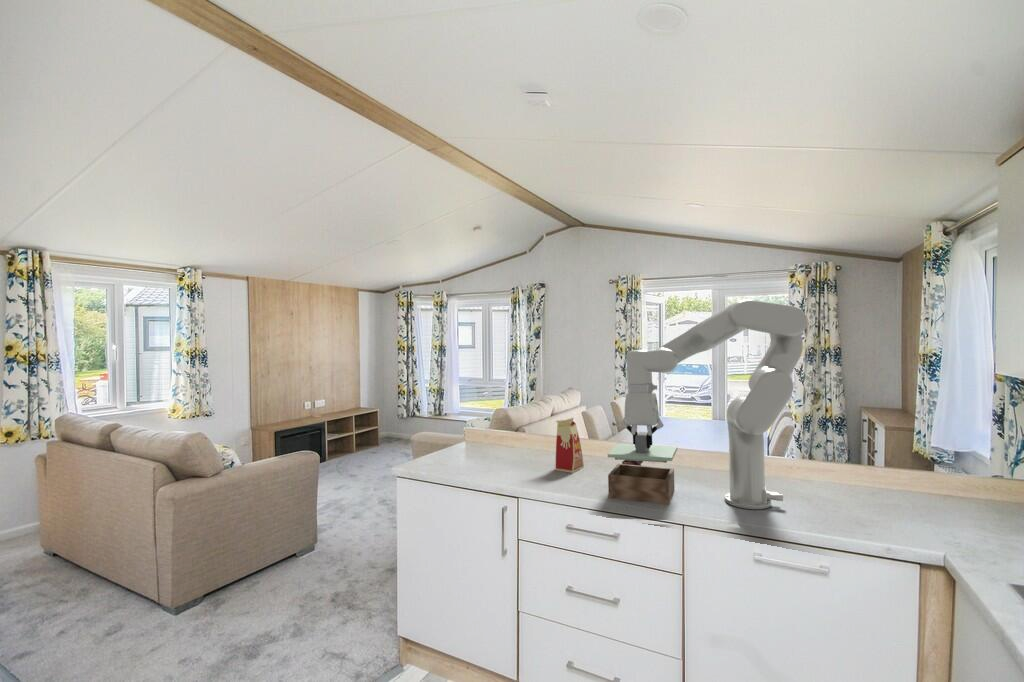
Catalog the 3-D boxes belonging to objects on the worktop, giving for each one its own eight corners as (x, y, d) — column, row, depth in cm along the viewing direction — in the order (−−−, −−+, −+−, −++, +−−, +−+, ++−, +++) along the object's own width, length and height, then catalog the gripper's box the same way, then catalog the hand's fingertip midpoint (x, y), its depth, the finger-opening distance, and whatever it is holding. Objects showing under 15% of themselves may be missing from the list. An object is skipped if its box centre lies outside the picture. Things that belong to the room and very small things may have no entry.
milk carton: (583, 467, 187) (582, 416, 187) (573, 473, 179) (572, 420, 179) (562, 464, 192) (561, 414, 192) (552, 470, 184) (550, 418, 184)
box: (674, 493, 154) (674, 468, 154) (669, 508, 141) (668, 481, 141) (618, 487, 161) (618, 463, 161) (608, 500, 148) (608, 474, 148)
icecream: (633, 465, 164) (652, 460, 176) (614, 457, 169) (634, 452, 180) (628, 484, 165) (647, 478, 176) (610, 475, 170) (629, 469, 181)
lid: (677, 452, 154) (676, 430, 154) (672, 464, 140) (671, 440, 140) (618, 449, 162) (617, 428, 162) (607, 460, 148) (606, 437, 148)
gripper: (668, 387, 151) (671, 445, 151) (616, 387, 158) (619, 443, 158) (665, 390, 144) (668, 451, 144) (611, 390, 151) (614, 448, 151)
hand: (642, 446), depth 151 cm, fingers closed on lid, 3 cm apart
